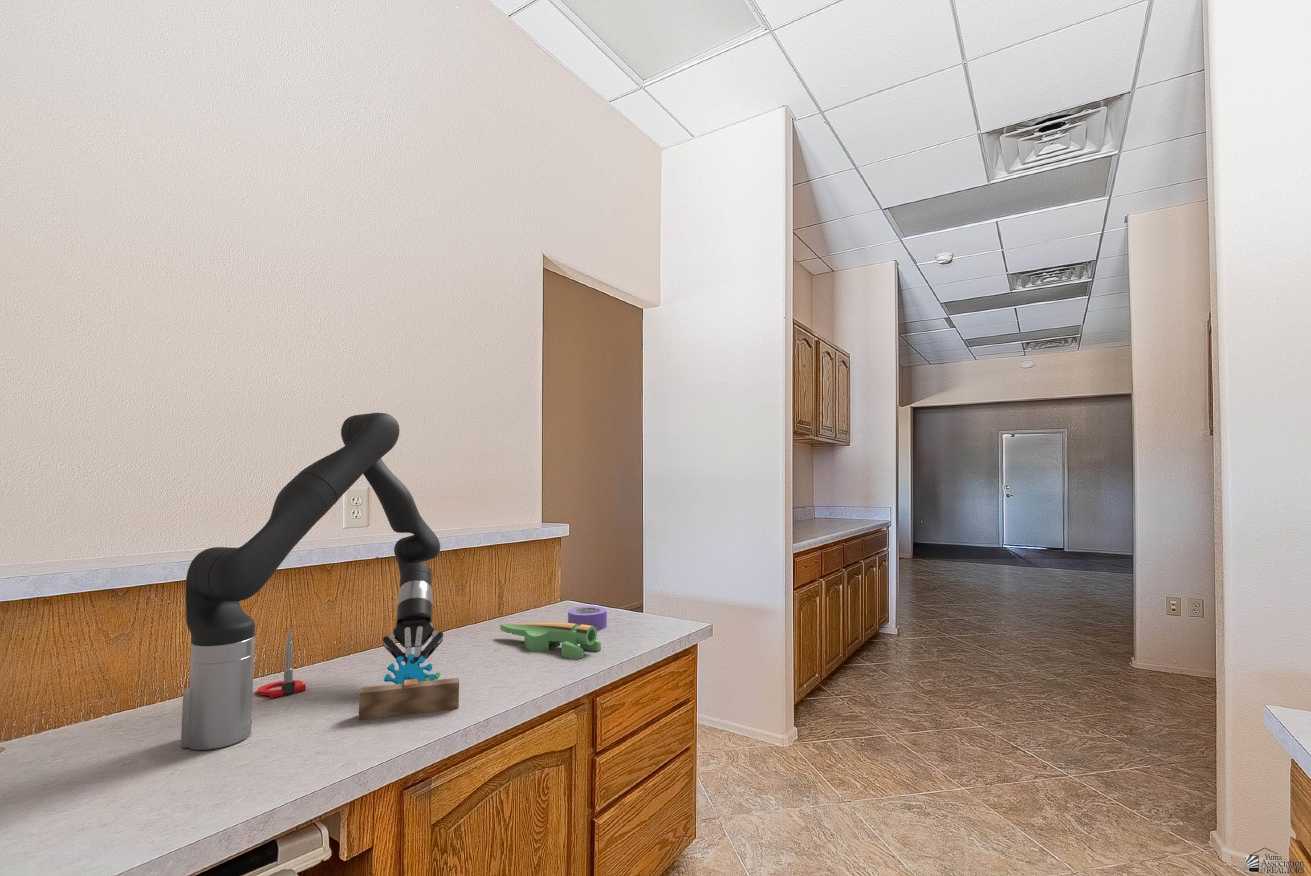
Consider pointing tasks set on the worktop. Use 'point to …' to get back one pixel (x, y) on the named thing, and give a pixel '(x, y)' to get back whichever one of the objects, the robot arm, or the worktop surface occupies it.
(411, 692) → the rail
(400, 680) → the gear
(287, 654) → the tow hook
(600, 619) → the tape roll
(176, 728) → the worktop surface
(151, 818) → the worktop surface
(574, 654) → the green elongated piece
